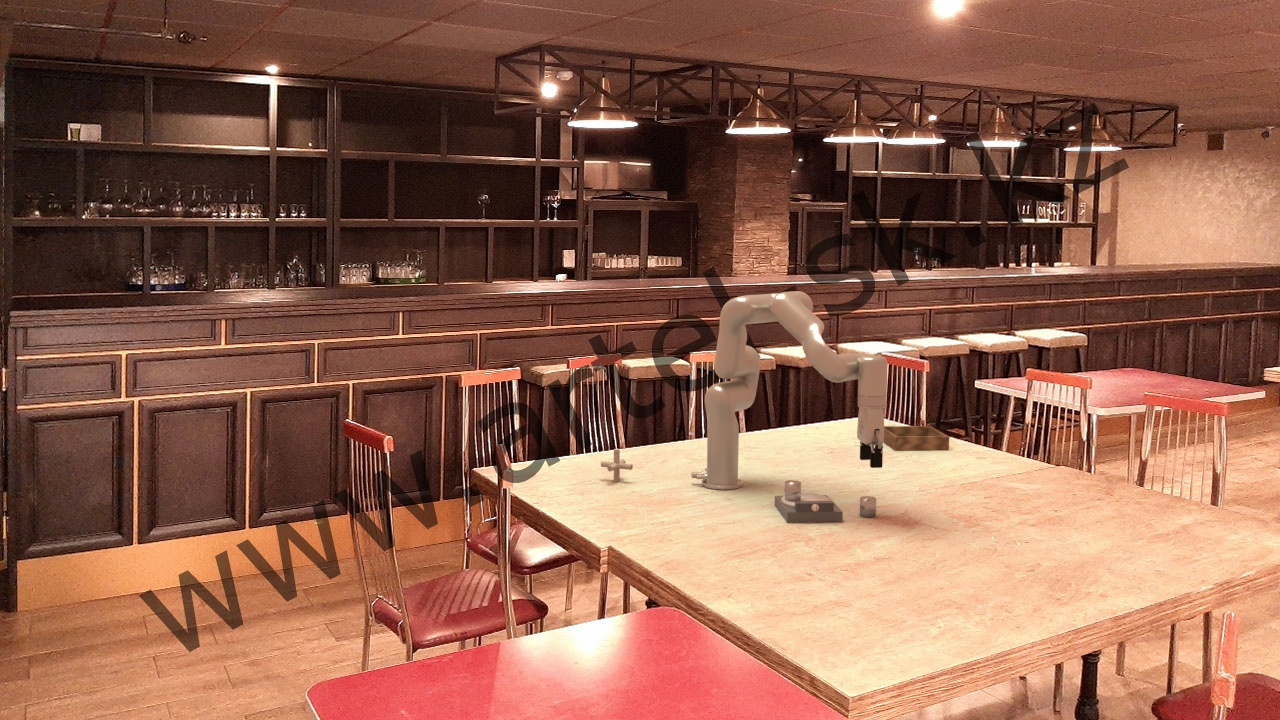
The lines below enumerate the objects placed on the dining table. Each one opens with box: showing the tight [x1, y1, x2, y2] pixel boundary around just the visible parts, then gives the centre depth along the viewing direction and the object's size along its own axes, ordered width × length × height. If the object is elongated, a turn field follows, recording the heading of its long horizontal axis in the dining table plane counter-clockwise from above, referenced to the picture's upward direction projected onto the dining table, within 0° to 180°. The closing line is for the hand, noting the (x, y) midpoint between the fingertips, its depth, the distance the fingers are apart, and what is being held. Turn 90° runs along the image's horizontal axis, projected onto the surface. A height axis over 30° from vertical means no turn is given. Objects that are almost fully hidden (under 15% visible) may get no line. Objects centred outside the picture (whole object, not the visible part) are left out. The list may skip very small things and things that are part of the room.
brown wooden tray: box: [883, 425, 950, 452], centre depth 373 cm, size 19×19×5 cm
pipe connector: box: [600, 448, 634, 483], centre depth 317 cm, size 10×10×10 cm
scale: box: [774, 492, 844, 524], centre depth 283 cm, size 15×17×5 cm
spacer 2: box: [858, 495, 877, 519], centre depth 281 cm, size 4×4×5 cm
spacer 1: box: [784, 479, 802, 502], centre depth 284 cm, size 4×4×5 cm
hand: (870, 463), depth 280 cm, fingers open, 9 cm apart
